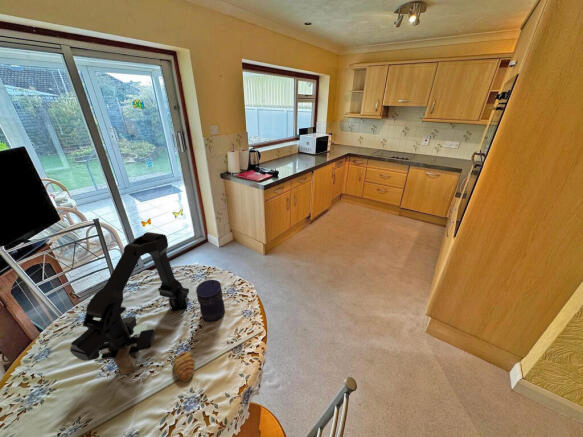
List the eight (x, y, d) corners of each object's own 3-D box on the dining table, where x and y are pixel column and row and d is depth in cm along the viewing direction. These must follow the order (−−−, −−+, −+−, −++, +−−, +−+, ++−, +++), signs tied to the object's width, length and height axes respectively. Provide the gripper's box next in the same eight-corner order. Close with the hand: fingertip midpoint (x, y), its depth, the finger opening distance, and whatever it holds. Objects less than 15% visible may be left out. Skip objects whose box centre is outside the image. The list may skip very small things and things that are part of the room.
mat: (148, 324, 96) (148, 323, 96) (138, 351, 86) (138, 351, 86) (110, 331, 93) (109, 330, 93) (95, 360, 83) (94, 359, 83)
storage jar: (216, 325, 96) (211, 299, 89) (196, 319, 99) (190, 293, 92) (229, 307, 105) (225, 282, 98) (211, 301, 107) (206, 277, 100)
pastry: (199, 375, 79) (196, 369, 77) (177, 387, 76) (175, 381, 74) (192, 353, 86) (190, 346, 84) (172, 363, 83) (170, 356, 81)
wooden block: (140, 352, 86) (134, 338, 82) (134, 372, 80) (127, 357, 76) (129, 354, 85) (122, 340, 81) (122, 374, 79) (114, 360, 75)
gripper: (153, 304, 83) (164, 333, 90) (93, 314, 79) (109, 343, 86) (144, 331, 73) (156, 361, 80) (75, 344, 69) (94, 374, 76)
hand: (129, 358), depth 81 cm, fingers closed on wooden block, 4 cm apart
